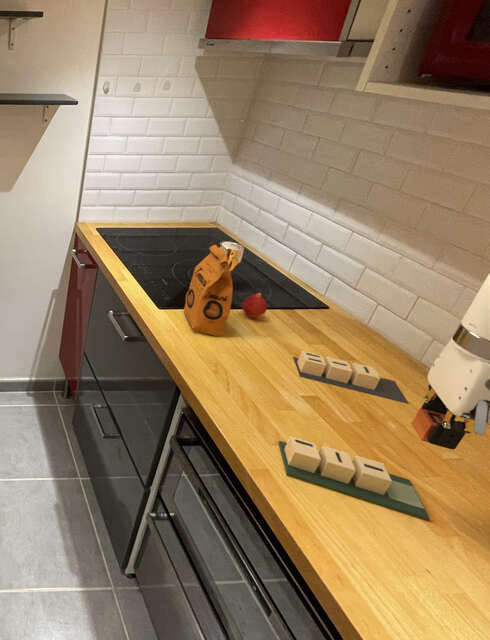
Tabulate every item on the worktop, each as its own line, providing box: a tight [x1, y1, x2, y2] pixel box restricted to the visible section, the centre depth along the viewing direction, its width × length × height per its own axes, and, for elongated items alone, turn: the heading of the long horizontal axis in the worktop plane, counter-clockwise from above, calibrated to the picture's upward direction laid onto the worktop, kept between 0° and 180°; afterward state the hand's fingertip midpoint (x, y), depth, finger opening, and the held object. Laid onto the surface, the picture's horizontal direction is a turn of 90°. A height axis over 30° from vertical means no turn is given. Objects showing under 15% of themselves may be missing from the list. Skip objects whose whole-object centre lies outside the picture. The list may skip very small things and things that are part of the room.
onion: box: [241, 292, 268, 319], centre depth 127 cm, size 6×6×8 cm
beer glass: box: [218, 240, 245, 279], centre depth 140 cm, size 7×7×15 cm
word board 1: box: [292, 350, 410, 405], centre depth 104 cm, size 20×8×4 cm, turn 65°
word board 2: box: [277, 435, 431, 522], centre depth 80 cm, size 20×8×4 cm, turn 65°
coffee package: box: [183, 244, 234, 337], centre depth 120 cm, size 10×12×22 cm
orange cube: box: [410, 407, 456, 443], centre depth 73 cm, size 4×4×4 cm
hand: (433, 433), depth 73 cm, fingers closed on orange cube, 4 cm apart
